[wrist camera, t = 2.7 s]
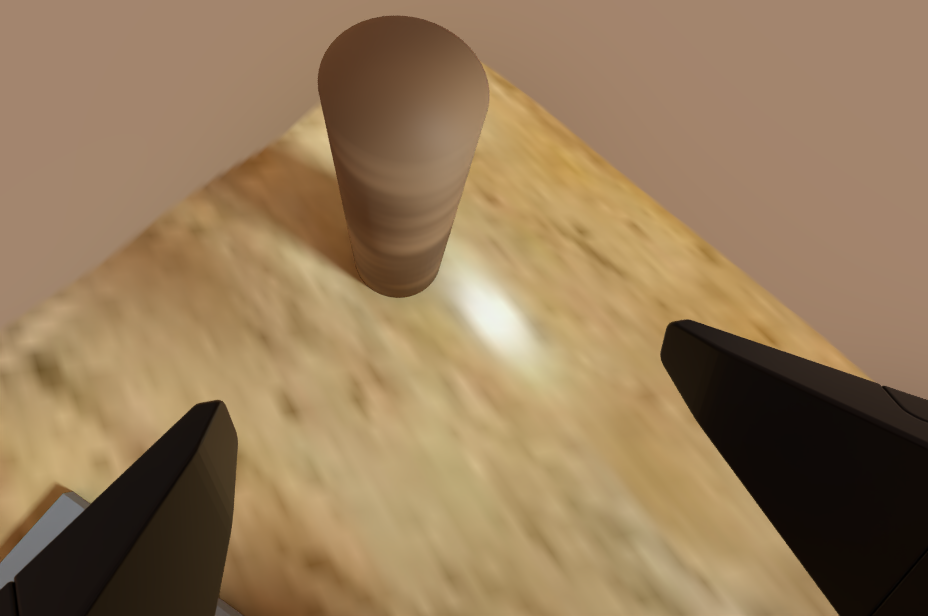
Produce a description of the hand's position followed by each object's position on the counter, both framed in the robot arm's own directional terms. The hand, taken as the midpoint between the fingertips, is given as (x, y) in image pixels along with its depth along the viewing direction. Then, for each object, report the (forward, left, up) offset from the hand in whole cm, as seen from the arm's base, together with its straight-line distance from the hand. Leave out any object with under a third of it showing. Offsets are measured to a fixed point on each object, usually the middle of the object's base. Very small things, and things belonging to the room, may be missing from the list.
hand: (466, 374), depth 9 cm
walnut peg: (+5, -5, -14) cm, 16 cm away
